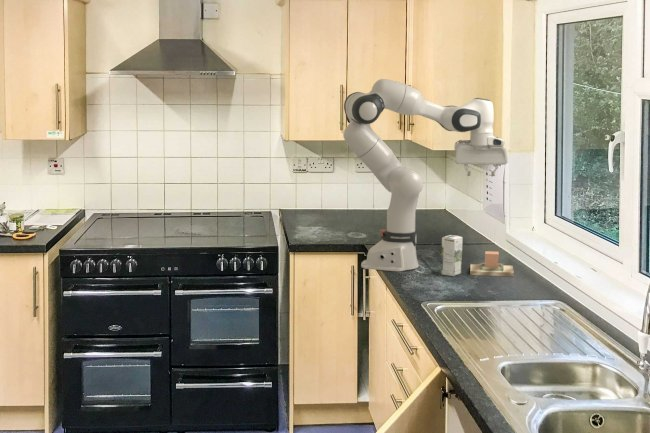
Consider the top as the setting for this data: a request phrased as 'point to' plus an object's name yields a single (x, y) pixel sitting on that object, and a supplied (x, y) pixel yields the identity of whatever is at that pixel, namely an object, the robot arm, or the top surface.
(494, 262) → the block
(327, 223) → the top surface
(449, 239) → the syrup box
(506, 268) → the build board
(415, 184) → the robot arm
